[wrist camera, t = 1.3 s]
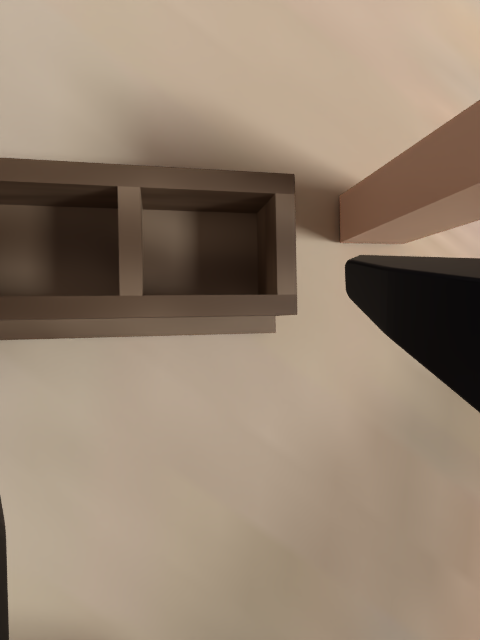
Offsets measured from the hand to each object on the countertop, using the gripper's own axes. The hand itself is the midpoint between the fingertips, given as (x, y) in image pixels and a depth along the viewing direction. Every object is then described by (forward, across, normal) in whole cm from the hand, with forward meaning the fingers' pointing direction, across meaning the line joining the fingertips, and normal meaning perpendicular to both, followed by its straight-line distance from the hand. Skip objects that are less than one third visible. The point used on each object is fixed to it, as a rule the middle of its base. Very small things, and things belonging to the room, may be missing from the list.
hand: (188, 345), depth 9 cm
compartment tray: (+16, +2, +2) cm, 17 cm away
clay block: (+12, -16, +5) cm, 21 cm away
